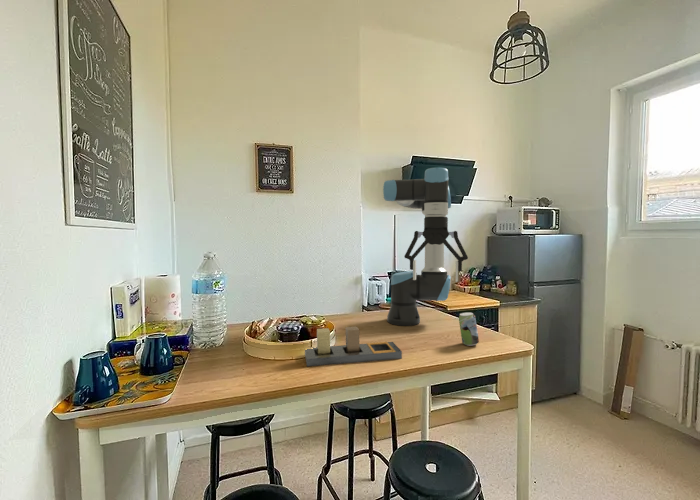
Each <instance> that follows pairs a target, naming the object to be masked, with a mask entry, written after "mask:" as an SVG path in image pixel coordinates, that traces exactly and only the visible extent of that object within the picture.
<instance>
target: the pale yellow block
mask: <svg viewBox="0 0 700 500" xmlns="http://www.w3.org/2000/svg"><path fill="white" fill-rule="evenodd" d="M330 346H331V331H330V328H329V327H326V328H317V329H316V347H317V356H321V355H330Z"/></svg>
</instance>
